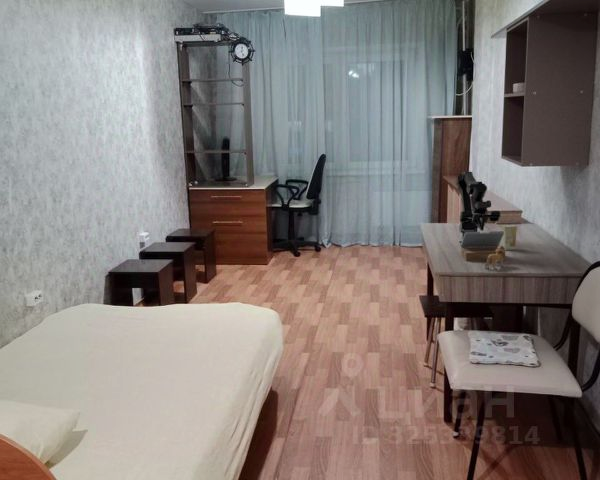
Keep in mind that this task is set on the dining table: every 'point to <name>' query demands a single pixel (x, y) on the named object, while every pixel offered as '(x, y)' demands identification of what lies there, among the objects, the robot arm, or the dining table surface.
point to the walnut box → (477, 253)
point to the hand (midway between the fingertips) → (482, 230)
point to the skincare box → (508, 237)
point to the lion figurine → (496, 257)
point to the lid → (482, 239)
